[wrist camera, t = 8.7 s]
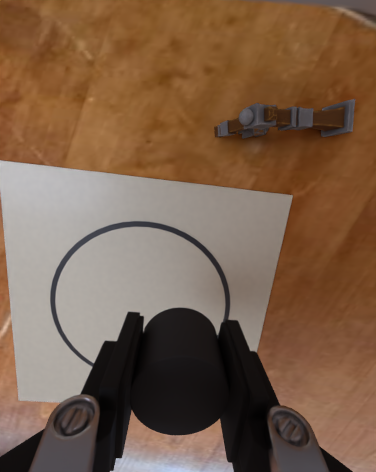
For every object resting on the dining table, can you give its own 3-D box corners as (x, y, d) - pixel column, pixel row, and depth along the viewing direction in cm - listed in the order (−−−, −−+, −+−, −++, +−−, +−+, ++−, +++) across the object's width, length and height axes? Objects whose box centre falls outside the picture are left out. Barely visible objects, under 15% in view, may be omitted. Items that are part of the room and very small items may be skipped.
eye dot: (144, 303, 10) (131, 352, 8) (222, 310, 11) (238, 359, 8) (139, 368, 11) (126, 434, 8) (211, 372, 12) (221, 438, 9)
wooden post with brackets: (201, 116, 14) (252, 89, 10) (293, 117, 17) (358, 97, 13) (203, 147, 15) (253, 133, 11) (292, 143, 18) (355, 131, 14)
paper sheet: (-1, 160, 15) (-4, 159, 15) (291, 195, 17) (293, 195, 16) (20, 398, 20) (17, 401, 20) (242, 409, 22) (243, 412, 21)
